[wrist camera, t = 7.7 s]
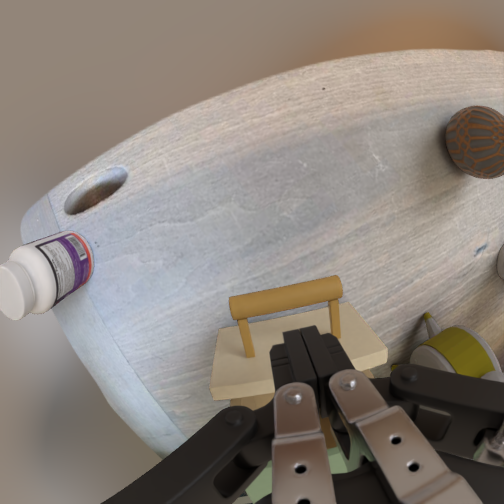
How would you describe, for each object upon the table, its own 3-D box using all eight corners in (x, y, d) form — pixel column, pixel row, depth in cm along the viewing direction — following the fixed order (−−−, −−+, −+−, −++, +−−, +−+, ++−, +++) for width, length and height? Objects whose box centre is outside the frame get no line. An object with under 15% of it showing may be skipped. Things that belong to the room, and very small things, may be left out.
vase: (475, 185, 21) (536, 192, 13) (432, 166, 21) (499, 165, 12) (478, 126, 20) (535, 120, 11) (436, 101, 19) (495, 82, 11)
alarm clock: (437, 372, 27) (499, 446, 12) (393, 398, 27) (445, 486, 13) (435, 299, 24) (532, 372, 9) (383, 327, 24) (468, 430, 10)
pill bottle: (55, 280, 23) (-7, 320, 13) (52, 227, 21) (-19, 251, 12) (97, 289, 23) (37, 338, 13) (95, 232, 22) (23, 260, 12)
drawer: (205, 279, 22) (186, 325, 14) (344, 251, 22) (389, 283, 14) (250, 427, 26) (251, 483, 18) (350, 406, 26) (372, 456, 18)
